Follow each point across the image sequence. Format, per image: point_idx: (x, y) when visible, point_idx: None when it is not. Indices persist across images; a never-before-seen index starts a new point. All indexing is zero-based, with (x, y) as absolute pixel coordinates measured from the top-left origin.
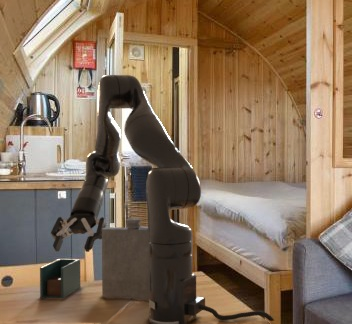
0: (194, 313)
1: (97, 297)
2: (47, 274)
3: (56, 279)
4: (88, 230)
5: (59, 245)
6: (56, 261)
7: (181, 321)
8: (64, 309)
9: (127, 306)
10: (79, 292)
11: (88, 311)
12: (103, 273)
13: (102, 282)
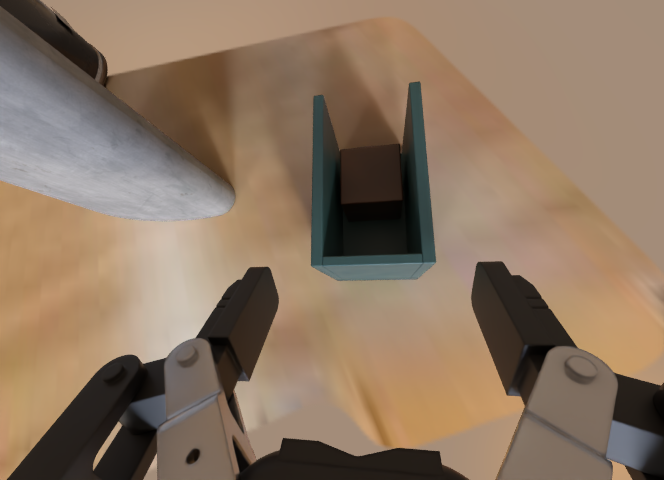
0: None
1: (249, 195)
2: (408, 148)
3: (365, 153)
4: (203, 402)
5: (487, 316)
6: (418, 212)
7: None
8: (297, 97)
9: None
10: None
11: (236, 96)
12: (180, 146)
13: (205, 167)
